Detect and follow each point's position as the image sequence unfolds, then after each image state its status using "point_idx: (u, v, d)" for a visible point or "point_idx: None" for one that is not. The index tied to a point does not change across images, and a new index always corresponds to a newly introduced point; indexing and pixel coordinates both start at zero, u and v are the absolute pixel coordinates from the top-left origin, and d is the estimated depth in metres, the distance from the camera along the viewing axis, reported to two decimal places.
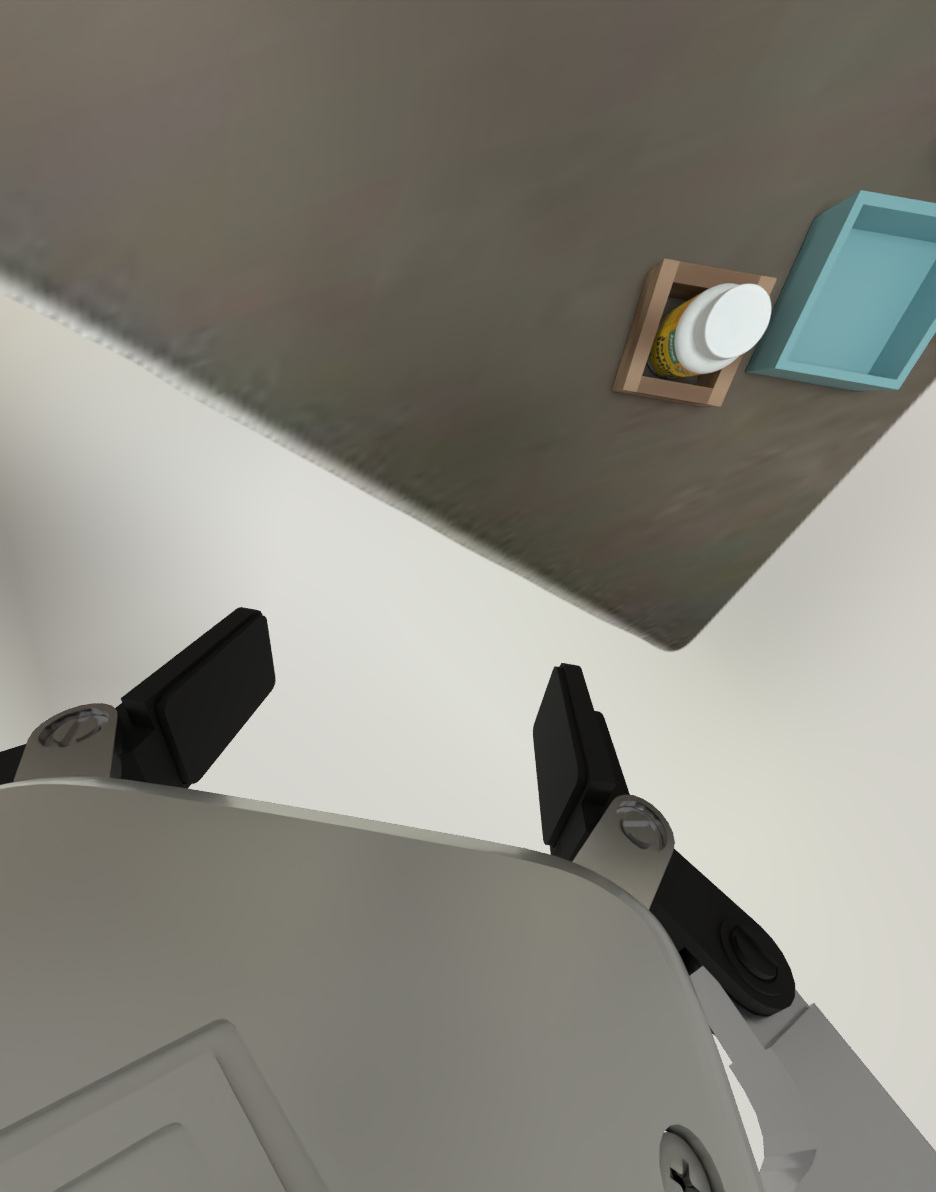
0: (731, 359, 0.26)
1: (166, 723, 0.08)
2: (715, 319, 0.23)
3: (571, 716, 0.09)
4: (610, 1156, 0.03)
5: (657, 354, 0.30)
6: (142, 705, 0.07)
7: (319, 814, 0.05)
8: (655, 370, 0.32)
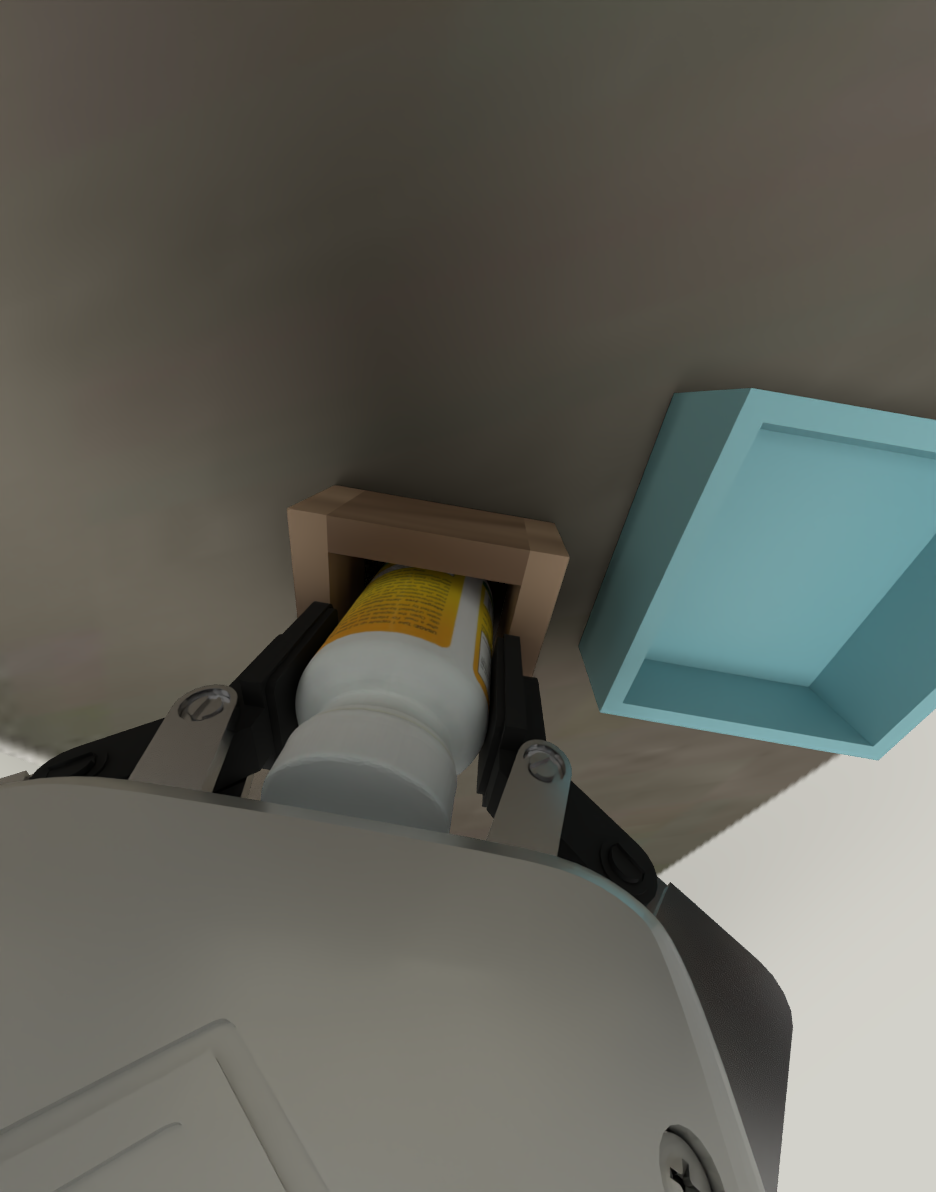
0: None
1: (273, 703, 0.09)
2: None
3: (501, 677, 0.10)
4: (610, 1156, 0.03)
5: None
6: (256, 686, 0.08)
7: (319, 814, 0.05)
8: None
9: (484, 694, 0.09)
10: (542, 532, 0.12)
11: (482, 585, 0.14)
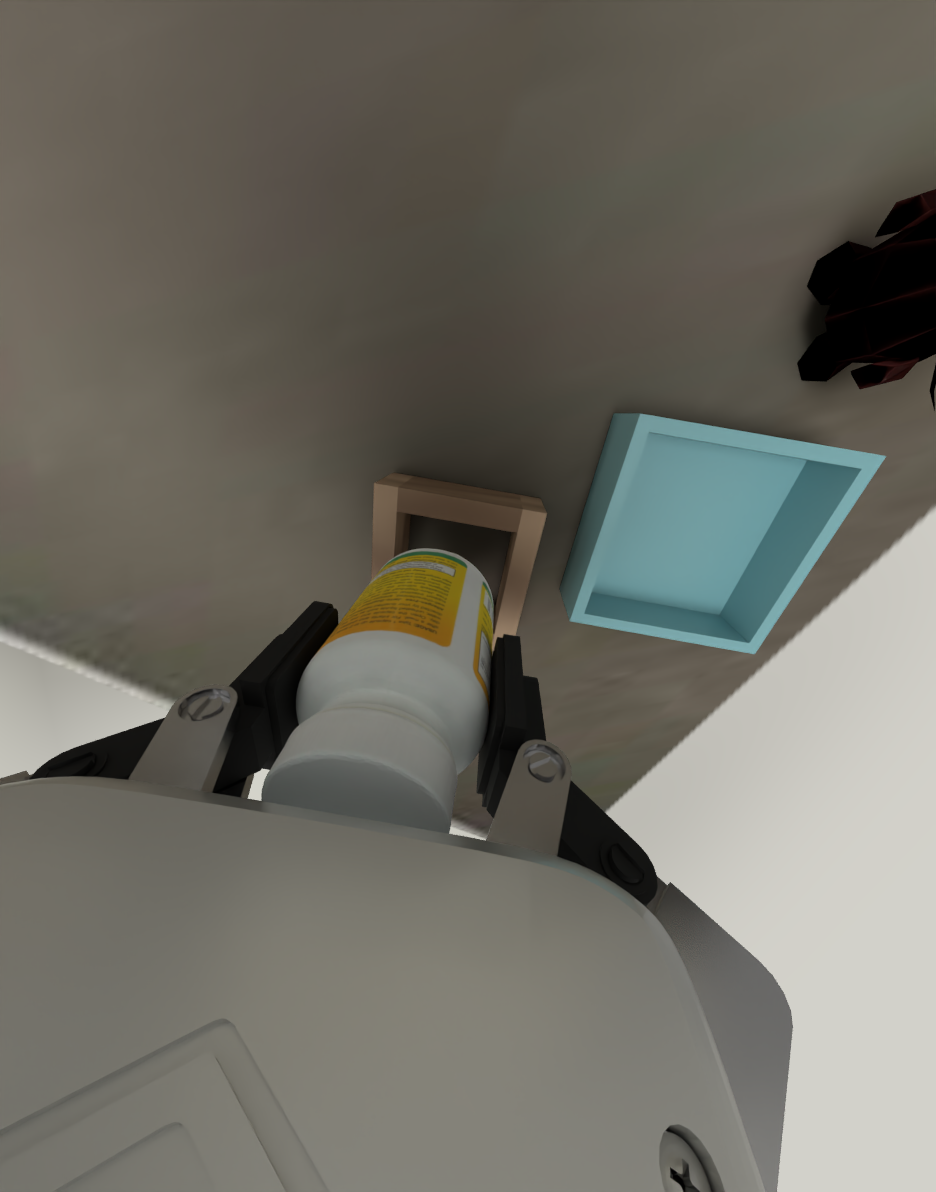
0: None
1: (273, 703, 0.09)
2: None
3: (501, 677, 0.10)
4: (610, 1156, 0.03)
5: None
6: (256, 686, 0.08)
7: (319, 814, 0.05)
8: None
9: (484, 693, 0.09)
10: (531, 501, 0.19)
11: (482, 585, 0.14)
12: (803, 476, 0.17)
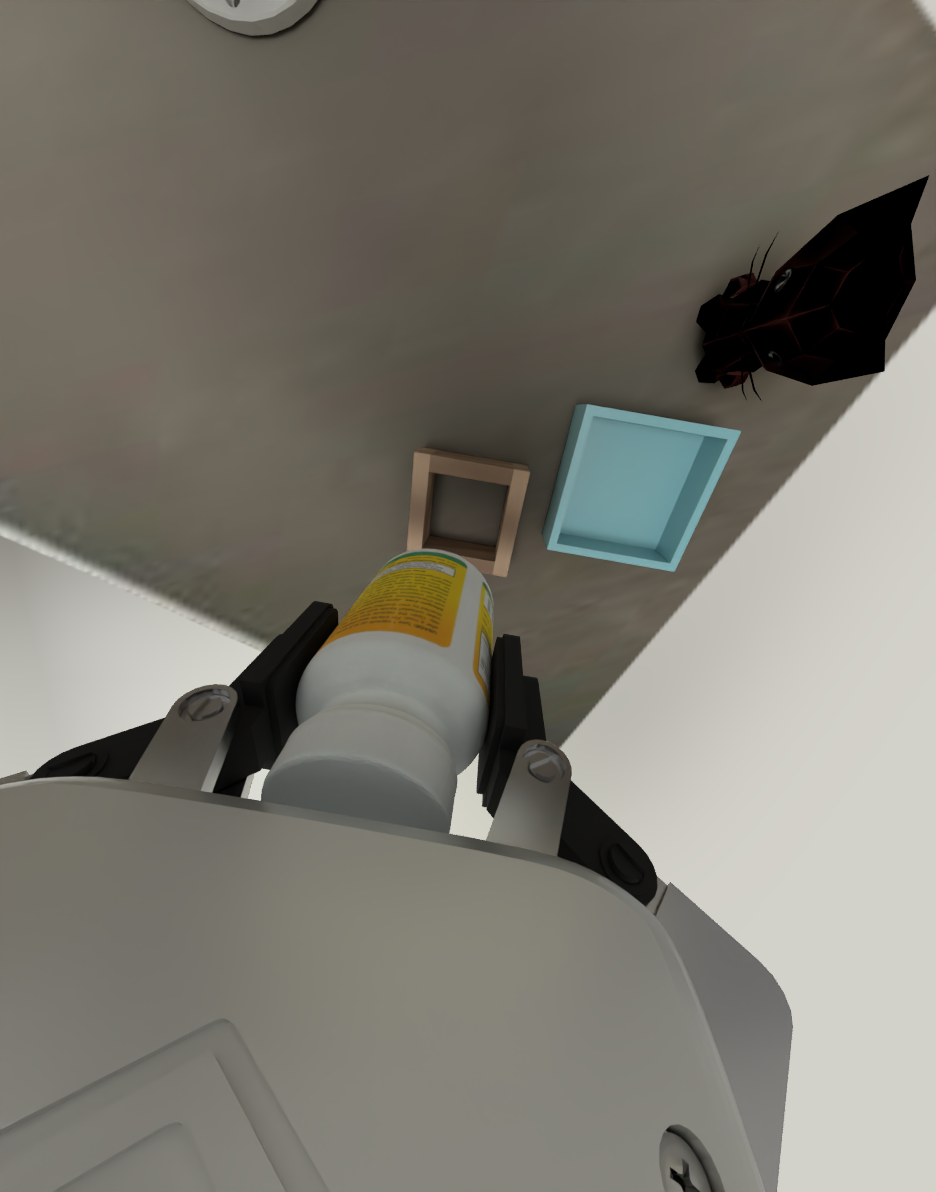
0: None
1: (273, 703, 0.09)
2: None
3: (501, 677, 0.10)
4: (610, 1157, 0.03)
5: None
6: (256, 686, 0.08)
7: (319, 814, 0.05)
8: None
9: (484, 694, 0.09)
10: (520, 466, 0.28)
11: (482, 585, 0.14)
12: (702, 447, 0.26)
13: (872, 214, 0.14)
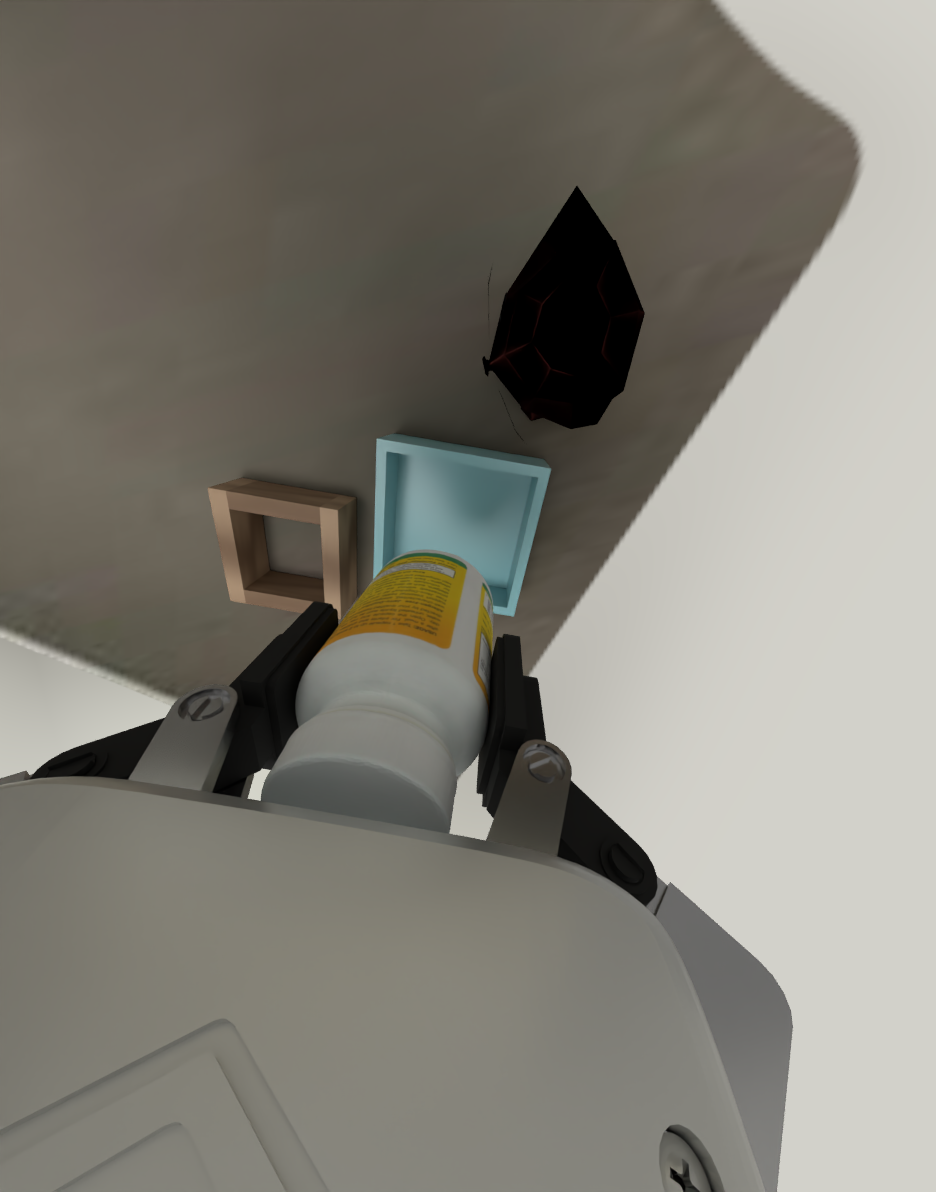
0: None
1: (273, 703, 0.09)
2: None
3: (501, 677, 0.10)
4: (610, 1156, 0.03)
5: None
6: (256, 686, 0.08)
7: (319, 814, 0.05)
8: None
9: (484, 695, 0.09)
10: (341, 500, 0.25)
11: (482, 586, 0.14)
12: (531, 481, 0.23)
13: (560, 232, 0.11)
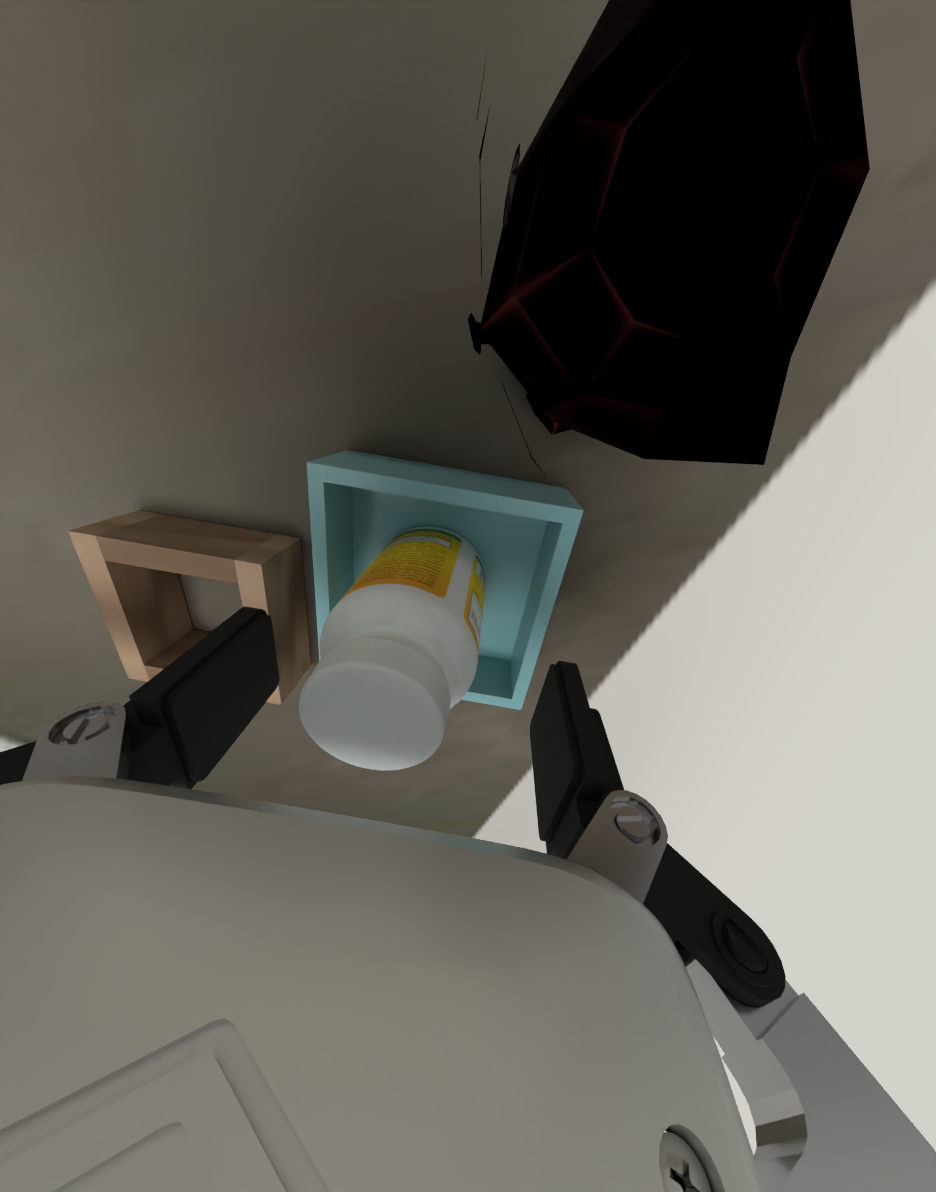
0: None
1: (173, 721, 0.08)
2: (316, 715, 0.09)
3: (567, 713, 0.09)
4: (610, 1156, 0.03)
5: None
6: (150, 703, 0.07)
7: (319, 814, 0.05)
8: None
9: (473, 637, 0.12)
10: (274, 545, 0.17)
11: (475, 557, 0.16)
12: (549, 521, 0.16)
13: None
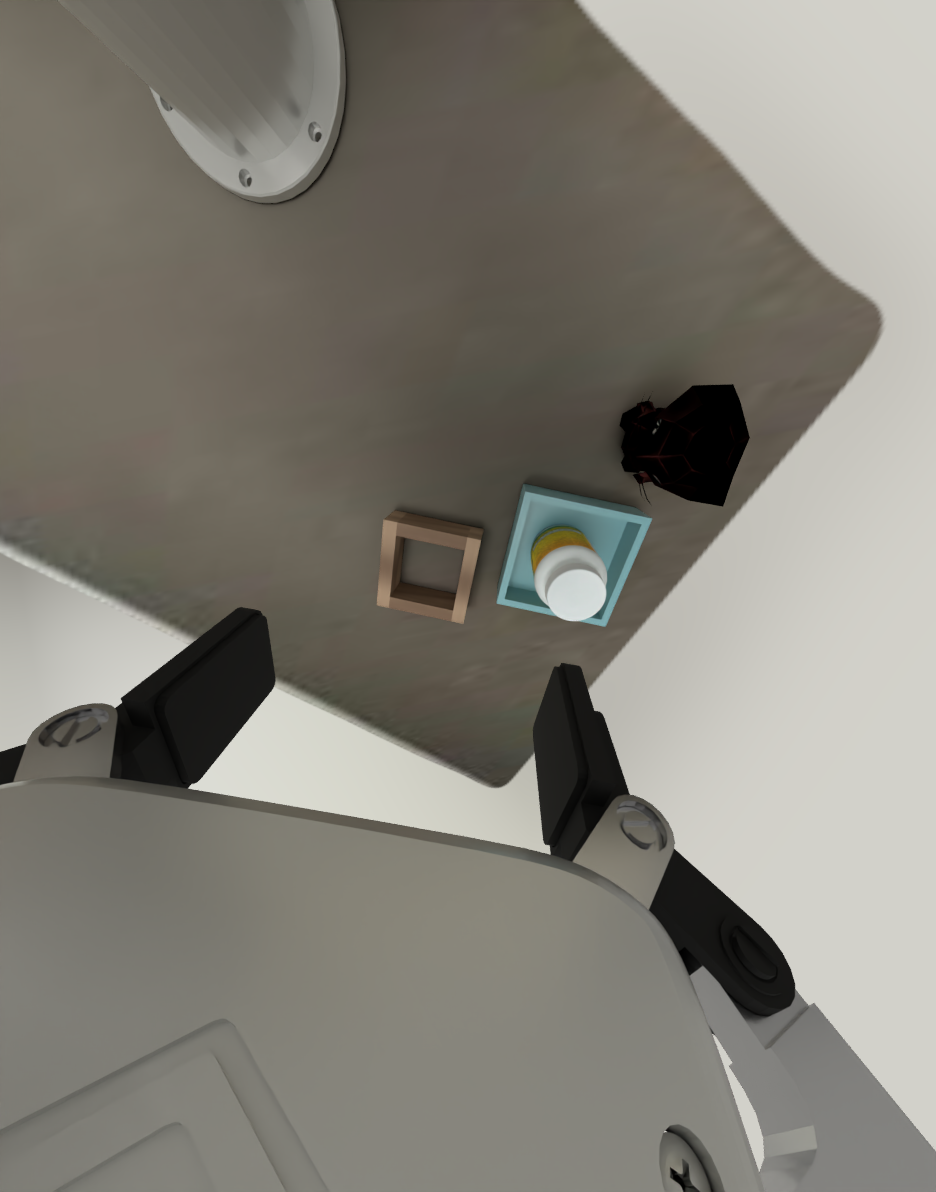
0: None
1: (166, 723, 0.08)
2: (555, 592, 0.24)
3: (571, 716, 0.09)
4: (610, 1157, 0.03)
5: None
6: (142, 705, 0.07)
7: (319, 814, 0.05)
8: None
9: (606, 571, 0.26)
10: (476, 532, 0.32)
11: (589, 541, 0.31)
12: (627, 524, 0.31)
13: (708, 395, 0.19)
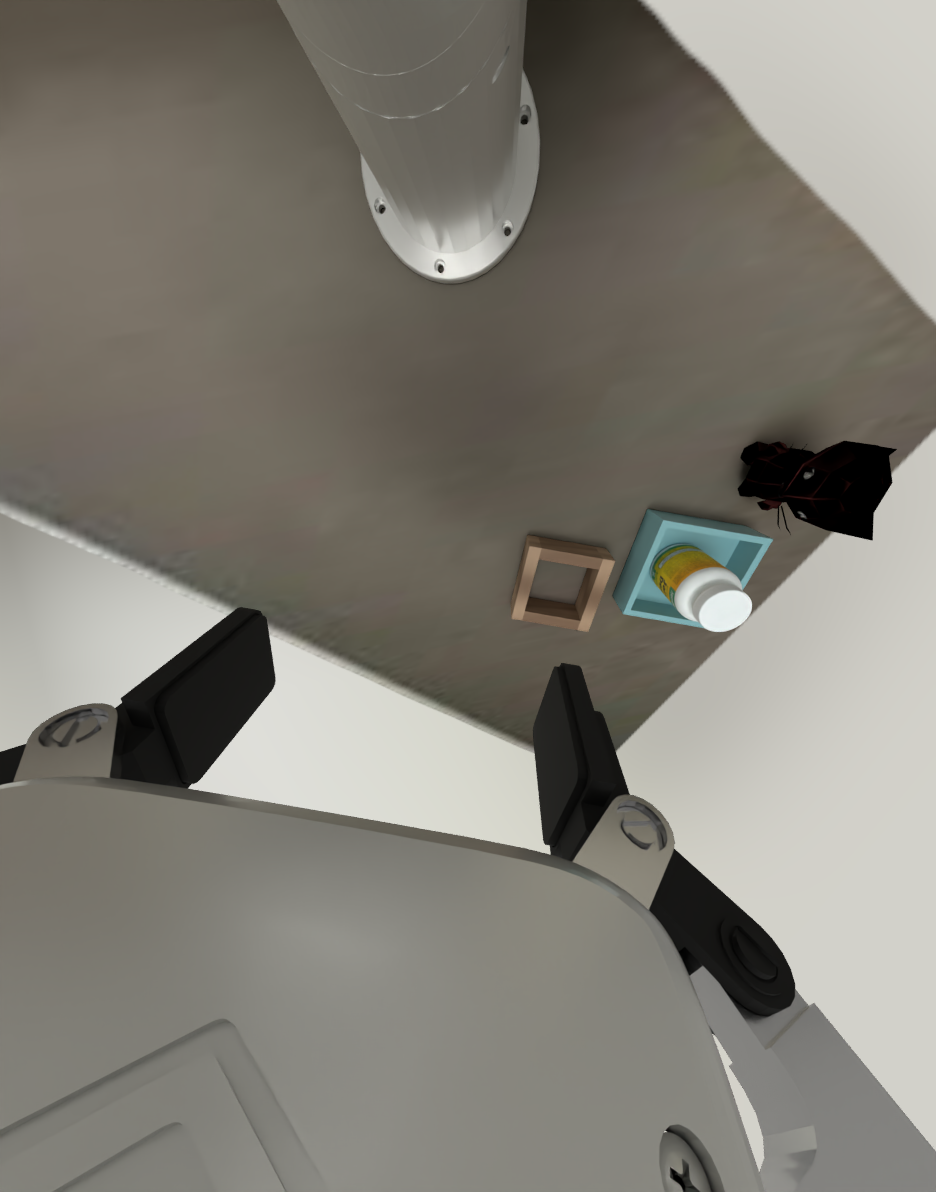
0: None
1: (166, 723, 0.08)
2: (707, 609, 0.29)
3: (571, 716, 0.09)
4: (610, 1156, 0.03)
5: (659, 586, 0.35)
6: (142, 705, 0.07)
7: (319, 814, 0.05)
8: None
9: None
10: (603, 552, 0.37)
11: None
12: (741, 541, 0.35)
13: (865, 452, 0.23)
